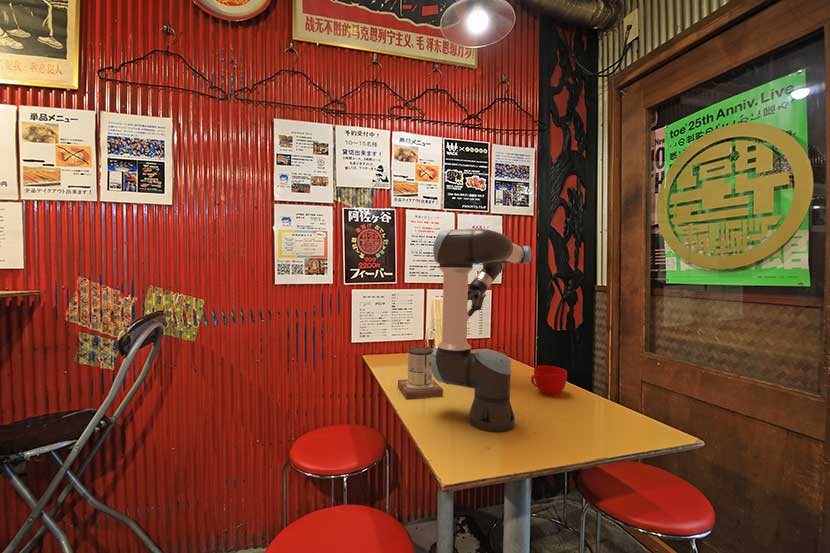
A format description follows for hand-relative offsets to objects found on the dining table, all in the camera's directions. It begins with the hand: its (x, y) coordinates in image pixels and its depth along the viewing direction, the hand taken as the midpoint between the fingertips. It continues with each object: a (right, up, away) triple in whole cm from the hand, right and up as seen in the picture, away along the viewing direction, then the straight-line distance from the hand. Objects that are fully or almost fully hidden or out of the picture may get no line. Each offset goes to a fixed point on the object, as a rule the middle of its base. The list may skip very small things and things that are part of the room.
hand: (453, 318), depth 155 cm
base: (-15, -29, -7) cm, 34 cm away
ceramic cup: (+38, -31, -7) cm, 49 cm away
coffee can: (-15, -26, -7) cm, 31 cm away
